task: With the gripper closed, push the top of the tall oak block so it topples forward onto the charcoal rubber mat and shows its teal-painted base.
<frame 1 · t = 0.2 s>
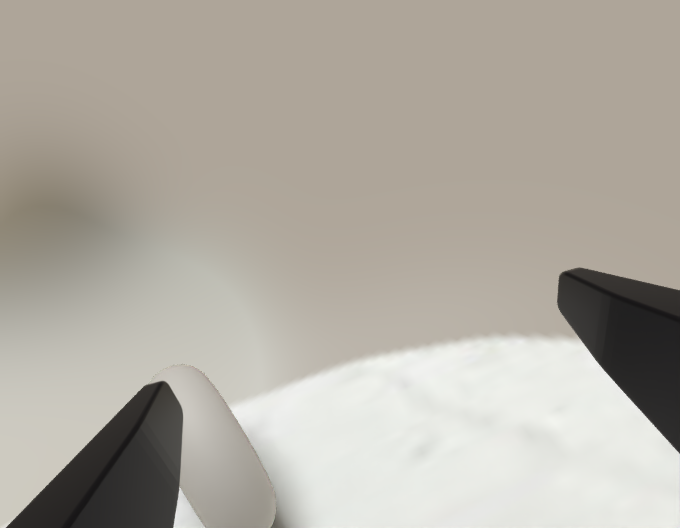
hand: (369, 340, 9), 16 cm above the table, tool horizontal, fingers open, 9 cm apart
donut: (242, 503, 24), on the table
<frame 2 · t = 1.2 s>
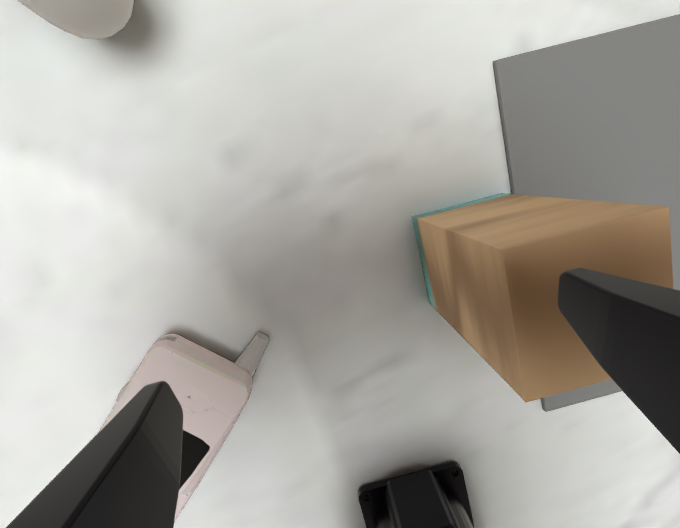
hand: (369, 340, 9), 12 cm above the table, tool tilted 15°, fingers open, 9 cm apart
mobile phone: (132, 485, 24), on the table
oak block: (465, 249, 22), on the table
charcoal mat: (631, 224, 22), on the table
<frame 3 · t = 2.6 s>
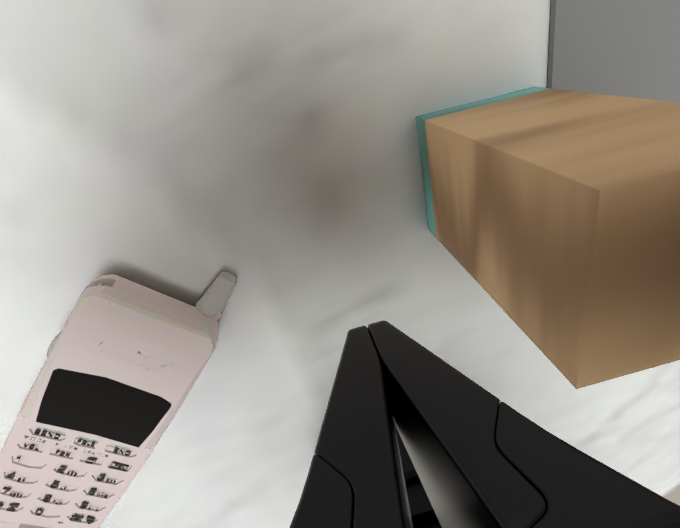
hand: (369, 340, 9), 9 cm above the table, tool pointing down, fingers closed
mobile phone: (87, 431, 21), on the table
oak block: (478, 162, 17), on the table
charcoal mat: (679, 132, 18), on the table
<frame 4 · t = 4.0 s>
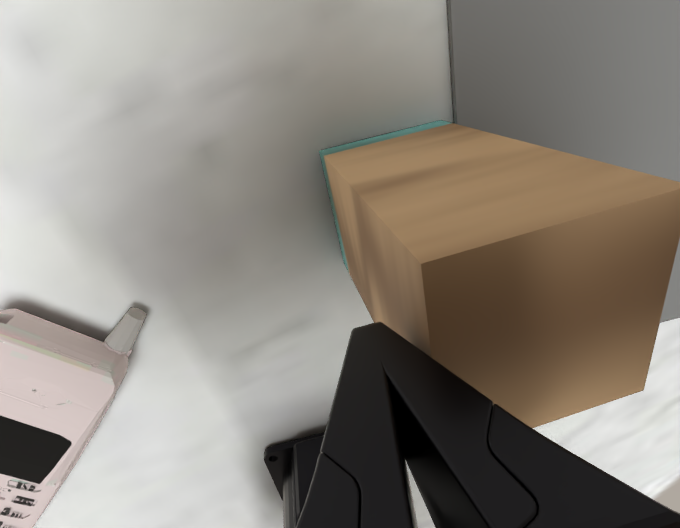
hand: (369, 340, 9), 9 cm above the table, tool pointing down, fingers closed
mobile phone: (3, 459, 21), on the table
oak block: (389, 195, 17), on the table, touching gripper
charcoal mat: (599, 165, 17), on the table
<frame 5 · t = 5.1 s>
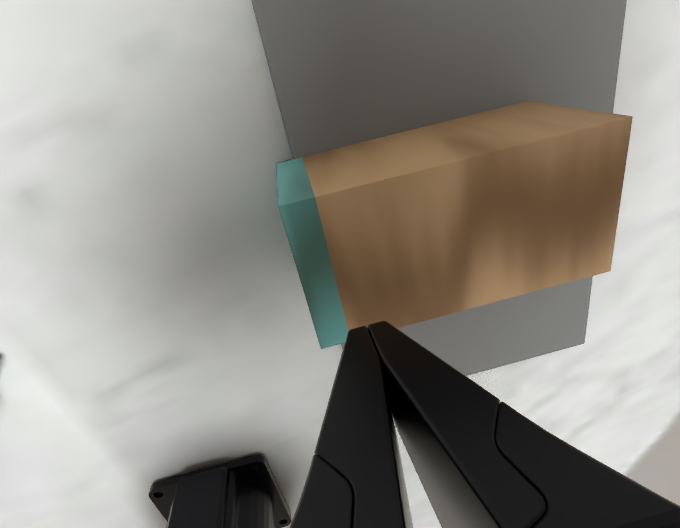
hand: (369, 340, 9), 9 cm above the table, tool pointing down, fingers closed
oak block: (296, 249, 14), point 3 cm above the table, tilted 90°, touching charcoal mat
charcoal mat: (459, 201, 17), on the table
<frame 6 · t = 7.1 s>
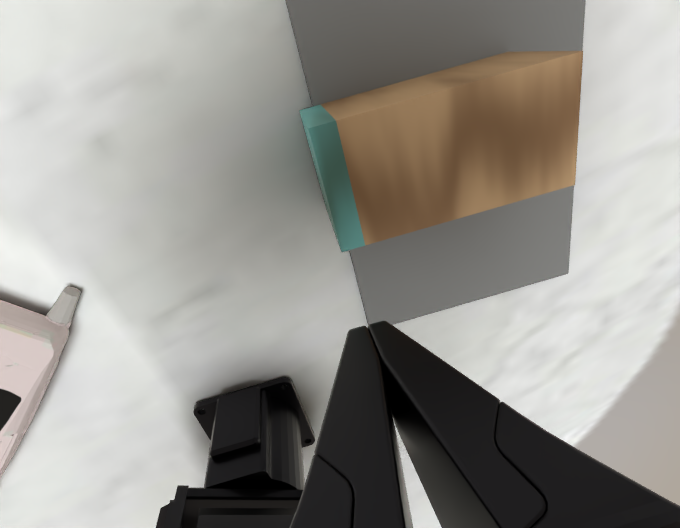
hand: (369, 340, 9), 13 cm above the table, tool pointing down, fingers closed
oak block: (319, 177, 17), point 3 cm above the table, tilted 90°, touching charcoal mat
charcoal mat: (453, 143, 20), on the table
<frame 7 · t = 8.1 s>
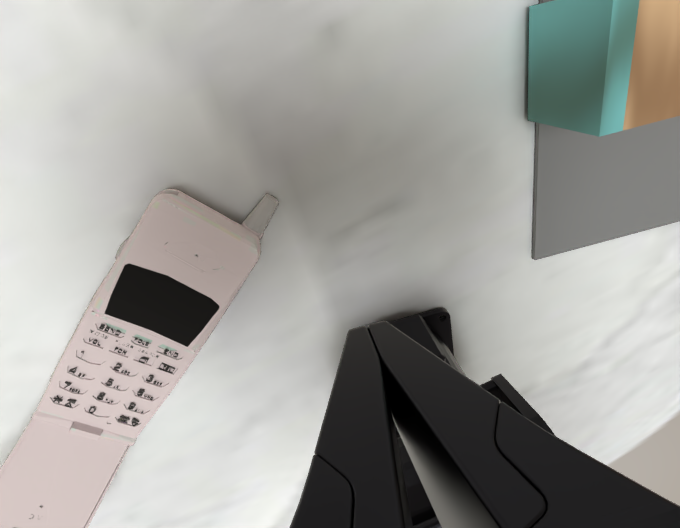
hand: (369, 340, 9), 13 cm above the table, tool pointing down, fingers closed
mobile phone: (133, 345, 24), on the table
oak block: (562, 67, 17), point 3 cm above the table, tilted 90°, touching charcoal mat
charcoal mat: (658, 55, 20), on the table
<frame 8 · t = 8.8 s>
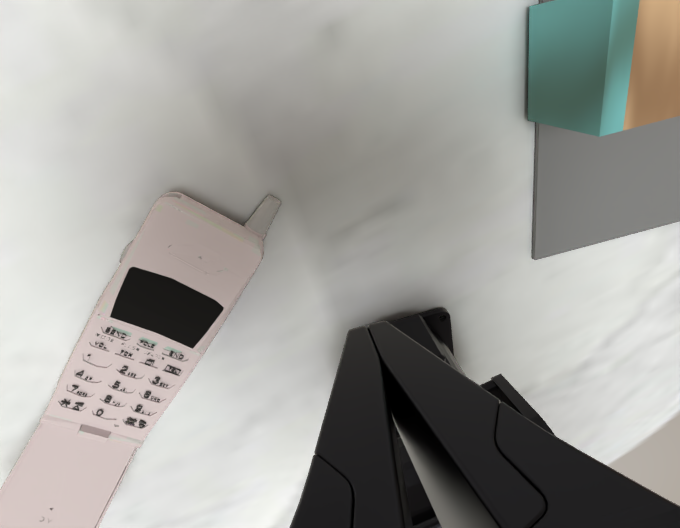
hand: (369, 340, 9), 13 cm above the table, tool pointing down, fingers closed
mobile phone: (139, 348, 24), on the table
oak block: (562, 67, 17), point 3 cm above the table, tilted 90°, touching charcoal mat
charcoal mat: (658, 55, 20), on the table
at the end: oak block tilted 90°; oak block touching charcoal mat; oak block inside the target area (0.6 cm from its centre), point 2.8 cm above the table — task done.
